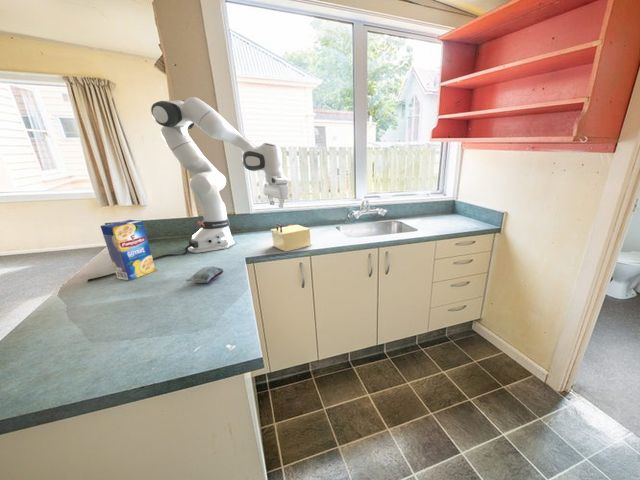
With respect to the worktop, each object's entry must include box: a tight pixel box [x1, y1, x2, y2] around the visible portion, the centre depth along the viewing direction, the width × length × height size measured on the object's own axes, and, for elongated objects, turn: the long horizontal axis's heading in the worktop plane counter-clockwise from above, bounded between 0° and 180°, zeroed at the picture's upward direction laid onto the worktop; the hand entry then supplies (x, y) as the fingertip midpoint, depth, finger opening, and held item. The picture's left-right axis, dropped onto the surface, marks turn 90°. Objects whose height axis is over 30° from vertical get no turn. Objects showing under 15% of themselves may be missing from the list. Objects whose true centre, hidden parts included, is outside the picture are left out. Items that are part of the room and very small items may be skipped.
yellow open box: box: [271, 230, 312, 252], centre depth 162 cm, size 16×13×9 cm
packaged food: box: [185, 266, 224, 284], centre depth 119 cm, size 9×12×5 cm
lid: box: [270, 222, 311, 236], centre depth 160 cm, size 16×13×5 cm
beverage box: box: [100, 219, 157, 281], centre depth 121 cm, size 7×11×22 cm, turn 164°
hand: (276, 206), depth 151 cm, fingers open, 8 cm apart
